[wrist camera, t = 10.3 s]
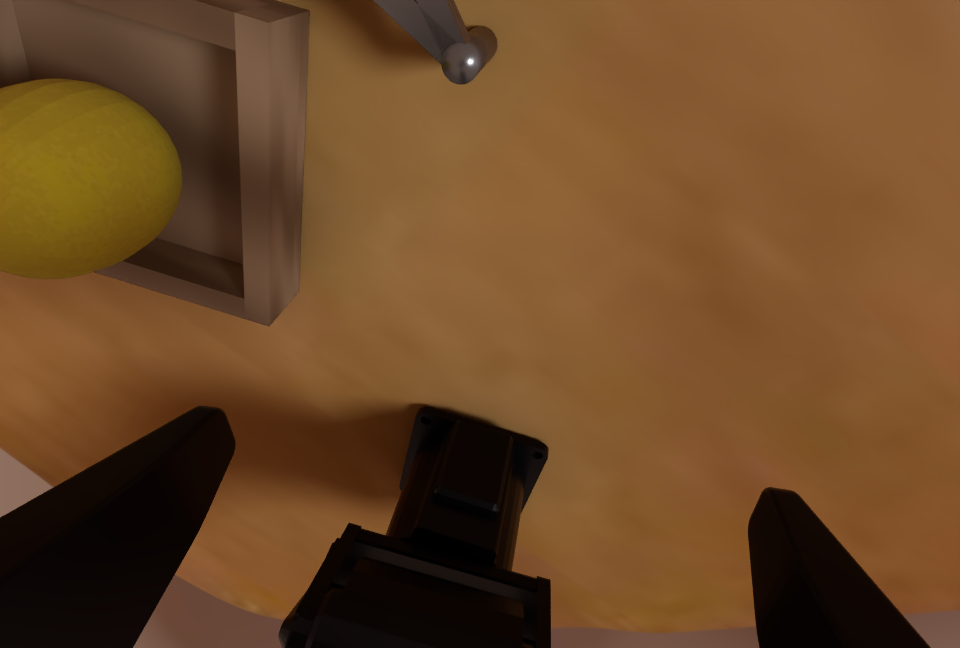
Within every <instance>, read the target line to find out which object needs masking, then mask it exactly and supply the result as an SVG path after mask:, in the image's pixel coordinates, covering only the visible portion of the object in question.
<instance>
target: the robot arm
mask: <svg viewBox="0 0 960 648" xmlns="http://www.w3.org/2000/svg"><path fill="white" fill-rule="evenodd" d="M426 417H428V418H429V419H428V418H426ZM234 451H235V438H234V435H233V432H232V430H231V427H230V424H229V422H228V419H227V416H226V414H225V412H224V411H223V410H222V409H220V408H215V407H208V406H198V407H196V408H193V409H192V410H190V411H188V412H186V413H184V414H183V415H181V416H179V417H177V418H176V419H174V420H172V421H170V422H169V423H167V424H165V425H163V426H161V427H160V428H158V429H156V430H154V431H153V432H151V433H149V434H147V435H146V436H144V437H142V438H140V439H138V440H137V441H135V442H133V443H131V444H130V445H128V446H126V447H124V448H123V449H121V450H119V451H117V452H115V453H114V454H112V455H110V456H108V457H107V458H105V459H103V460H101V461H100V462H98V463H96V464H94V465H92V466H91V467H89V468H87V469H85V470H84V471H82V472H80V473H78V474H77V475H75V476H73V477H71V478H69V479H68V480H66V481H64V482H62V483H61V484H59V485H57V486H55V487H54V488H52V489H50V490H48V491H47V492H45V493H43V494H41V495H39V496H38V497H36V498H34V499H32V500H31V501H29V502H27V503H25V504H24V505H22V506H20V507H18V508H17V509H15V510H13V511H11V512H9V513H8V514H6V515H4V516H2V517H1V518H0V648H133V646H134V645H135V643H136V641H137V639H138V638H139V636H140V634H141V632H142V631H143V629H144V627H145V625H146V624H147V622H148V620H149V618H150V617H151V615H152V613H153V611H154V610H155V608H156V606H157V604H158V603H159V601H160V599H161V597H162V596H163V594H164V592H165V590H166V588H167V587H168V585H169V583H170V581H171V580H172V578H173V576H174V575H175V573H176V571H177V569H178V567H179V566H180V564H181V562H182V560H183V559H184V557H185V555H186V553H187V552H188V550H189V548H190V546H191V545H192V543H193V541H194V539H195V537H196V535H197V534H198V532H199V530H200V528H201V526H202V523H203V521H204V519H205V517H206V515H207V513H208V510H209V508H210V506H211V504H212V501H213V499H214V497H215V495H216V492H217V490H218V488H219V486H220V483H221V481H222V479H223V477H224V474H225V472H226V470H227V468H228V465H229V463H230V461H231V459H232V456H233V454H234ZM548 451H549V449H548V447H547V446H546V445H545V444H544V443H542V442H538V441H535V440H532V439H529V438H526V437H522V436H519V435H516V434H513V433H510V432H506V431H503V430H500V429H497V428H493V427H490V426H487V425H484V424H481V423H477V422H474V421H471V420H468V419H465V418H461V417H458V416H455V415H452V414H448V413H445V412H442V411H439V410H436V409H432V408H429V407H423V408H421V409H419V411H418V413H417V416H416V419H415V423H414V427H413V431H412V436H411V440H410V444H409V448H408V453H407V457H406V461H405V465H404V469H403V474H402V478H401V482H400V490H401V491H402V492H401V495H400V497H399V500H398V503H397V506H396V508H395V511H394V514H393V516H392V519H391V522H390V524H389V527H388V530H387V533H386V535H382V534H379V533H375V532H372V531H368V530H365V529H361V526H359V525H355V524H352V523H349V524H348V525H347V527H346V529H345V531H344V532H343V534H342V536H341V538H337V539H336V541H335V542H334V543H332V545H331V547H330V549H329V552H328V554H327V556H326V558H325V560H324V562H323V564H322V565H321V567H320V569H319V571H318V572H317V574H316V576H315V578H314V579H313V581H312V583H311V585H310V587H309V588H308V590H307V591H306V592H305V594H304V595H303V596H302V598H301V599H300V600H299V602H298V603H297V604H296V606H295V607H294V608H293V610H292V611H291V612H290V613H289V615H288V616H287V617H286V619H285V620H284V622H283V624H282V626H281V628H280V631H279V640H280V643H281V646H282V648H551V589H550V579H546V578H542V577H539V576H537V578H534V577H531V576H527V575H523V574H520V573H516V572H513V571H512V566H513V559H514V553H515V547H516V540H517V534H518V527H519V521H520V515H521V512H522V510H523V508H524V506H525V504H526V502H527V500H528V498H529V496H530V494H531V492H532V490H533V487H534V485H535V483H536V481H537V479H538V477H539V475H540V473H541V471H542V469H543V467H544V465H545V463H546V461H547V458H548ZM537 452H540V453H537ZM748 540H749V551H750V563H751V574H752V586H753V597H754V609H755V620H756V628H757V636H758V642H759V648H930V646H929V645H928V644H927V643H926V642H925V640H924V639H923V638H922V637H921V636H920V635H919V634H918V633H917V631H916V630H915V629H914V628H913V627H912V625H911V624H910V623H909V622H908V621H907V620H906V618H904V616H903V615H902V614H901V613H900V612H899V610H898V609H897V608H896V607H895V606H894V605H893V603H892V602H891V601H890V600H889V599H888V598H887V596H886V595H885V594H884V593H883V592H882V591H881V589H880V588H879V587H878V586H877V585H876V584H875V583H874V581H873V580H872V579H871V578H870V577H869V576H868V574H867V573H866V572H865V571H864V570H863V569H862V567H861V566H860V565H859V564H858V563H857V562H856V561H855V559H854V558H853V557H852V556H851V555H850V554H849V552H848V551H847V550H846V549H845V548H844V547H843V545H842V544H841V543H840V542H839V541H838V540H837V539H836V537H835V536H834V535H833V534H832V533H831V532H830V530H829V529H828V528H827V527H826V526H825V525H824V523H823V522H822V521H821V520H820V519H819V518H818V517H817V515H816V514H815V513H814V512H813V511H812V510H811V508H810V507H809V506H808V505H807V504H806V503H805V501H804V500H803V499H802V498H801V497H800V496H799V495H798V494H797V493H796V492H794V491H791V490H786V489H779V488H772V487H768V488H765V489H764V490H763V492H762V493H761V495H760V497H759V500H758V502H757V504H756V506H755V508H754V511H753V513H752V515H751V517H750V520H749V525H748Z"/></svg>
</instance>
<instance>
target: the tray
mask: <svg viewBox="0 0 960 648" xmlns="http://www.w3.org/2000/svg"><path fill="white" fill-rule="evenodd" d="M309 13H310V11H309V10H306V9H302V8H299V7H296V6H292V5H289V4H286V3H282V2H279V1H276V0H0V88H3V87H6V86H11V85H15V84H19V83H24V82H29V81H34V80H41V79H55V78H57V79H70V80H78V81H85V82H91V83H95V84H98V85H101V86H104V87H106V88H109V89H111V90H114V91H116V92H119V93H122V94H123V95H125V96H127V97H128V98H130V99H131V100H133V101H134V102H136V103H138V104H139V105H141V106H142V107H144V108H145V109H146V110H147V111H148V112H149V113H150V114H151V115H152V116H153V117H155V118H156V119H157V120H158V122H159V123H160V124H161V126H162V127H163V128H164V129H165V131H166V132H167V133H168V135H169V137H170V139H171V140H172V142H173V144H174V146H175V148H176V150H177V153H178V156H179V160H180V163H181V170H182V190H181V195H180V200H179V204H178V206H177V209H176V211H175V212H174V214H173V216H172V217H171V219H170V220H169V222H168V224H167V225H166V227H165V228H164V229H163V231H162V232H161V233H160V234H159V235H158V236H157V237H156V238H155V239H154V240H153V241H151V242H150V243H149V244H147V245H146V246H145V247H143V248H142V249H140V250H139V251H137V252H136V253H135V254H133V255H131V256H130V257H128V258H126V259H125V260H123V261H121V262H119V263H117V264H114V265H112V266H109V267H107V268H103V269H100V270H97V271H94V272H95V273H99V274H102V275H105V276H108V277H111V278H115V279H118V280H121V281H124V282H128V283H131V284H134V285H137V286H140V287H144V288H147V289H150V290H153V291H157V292H160V293H163V294H166V295H169V296H173V297H176V298H179V299H182V300H186V301H189V302H192V303H195V304H198V305H202V306H205V307H208V308H211V309H215V310H218V311H221V312H224V313H227V314H231V315H234V316H237V317H240V318H244V319H247V320H250V321H253V322H256V323H260V324H263V325H266V326H270V325H271V324H272V323H273V322H274V320H275V319H276V318H277V317H278V316H279V314H280V313H281V312H282V311H283V310H284V309H285V307H286V306H287V305H288V304H289V303H290V301H291V300H292V299H293V298H294V297H295V296H296V294H297V293H298V292H299V273H300V247H301V221H302V195H303V169H304V143H305V117H306V91H307V65H308V39H309Z"/></svg>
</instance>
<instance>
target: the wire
mask: <svg viewBox="0 0 960 648" xmlns="http://www.w3.org/2000/svg"><path fill="white" fill-rule="evenodd" d="M374 1H375V2H376V3H377V4H378V5H379V6H380V7H381V8H382V9H383V10H384V11H385V12H386V13H387V14H388V15H389V16H391V17H392V18H393V19H394V20H395V21H396V22H397V23H398V24H399V25H400V26H401V27H402V28H403V29H404V30H405V31H406V32H408V33H409V34H410V35H411V36H412V37H413V38H414V39H415V40H416V41H417V42H418V43H419V44H420V45H421V46H422V47H423V48H425V49H426V50H427V51H428V52H429V53H430V54H431V55H432V56H433V57H434V58H435V59H436V60H437V61H438V62H439V63H441V65H442V70H443V72H444V74H445V76H446V77H447V78H448V79H449V80H450V81H451V82H453V83H456V84H466V83H469V82H470V81H472V80H473V79H474V78H475V76H476V75H477V74H478V73H479V72H480V71H481V70H482V69H483V67H484V66H485V65H486V64H487V63H488V62H489V61H490V59H491V58H492V57H493V56H494V55H495V53H496V50H497V39H496V36H495V34H494V33H493V31H492V30H491V29H489V28H488V27H485V26H477V27H474V28H473V29H471V30H470V31H469V32H468V31H467V29H466V27H465V25H464V22H463V20H462V18H461V15H460V13H459V11H458V9H457V6H456V4H455V2H454V0H374Z"/></svg>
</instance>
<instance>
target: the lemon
mask: <svg viewBox="0 0 960 648" xmlns="http://www.w3.org/2000/svg"><path fill="white" fill-rule="evenodd" d="M181 190H182V170H181V163H180V160H179V156H178V153H177V150H176V148H175V146H174V144H173V142H172V140H171V139H170V137H169V135H168V133H167V132H166V131H165V129H164V128H163V127H162V126H161V124H160V123H159V122H158V120H157V119H156V118H155V117H153V116H152V115H151V114H150V113H149V112H148V111H147V110H146V109H145V108H144V107H142V106H141V105H139V104H138V103H136V102H134V101H133V100H131V99H130V98H128V97H127V96H125V95H123V94H122V93H119V92H116V91H114V90H111V89H109V88H106V87H104V86H101V85H98V84H95V83H91V82H85V81H78V80H70V79H57V78H55V79H41V80H34V81H29V82H24V83H19V84H15V85H11V86H6V87H3V88H0V270H1V271H4V272H7V273H11V274H14V275H18V276H22V277H28V278H39V279H62V278H69V277H74V276H78V275H82V274H86V273H90V272H94V271H97V270H100V269H103V268H107V267H109V266H112V265H114V264H117V263H119V262H121V261H123V260H125V259H126V258H128V257H130V256H131V255H133V254H135V253H136V252H137V251H139V250H140V249H142V248H143V247H145V246H146V245H147V244H149V243H150V242H151V241H153V240H154V239H155V238H156V237H157V236H158V235H159V234H160V233H161V232H162V231H163V229H164V228H165V227H166V225H167V224H168V222H169V220H170V219H171V217H172V216H173V214H174V212H175V211H176V209H177V206H178V204H179V200H180V195H181Z"/></svg>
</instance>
